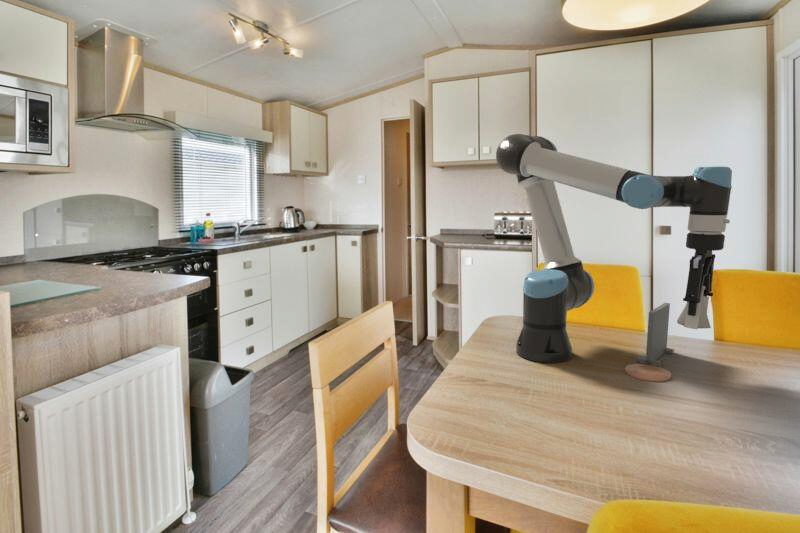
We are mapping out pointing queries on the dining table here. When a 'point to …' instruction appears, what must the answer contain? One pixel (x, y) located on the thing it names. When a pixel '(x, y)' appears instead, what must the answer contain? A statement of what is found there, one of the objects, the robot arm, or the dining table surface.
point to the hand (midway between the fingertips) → (695, 324)
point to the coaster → (648, 372)
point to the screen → (657, 335)
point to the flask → (702, 317)
